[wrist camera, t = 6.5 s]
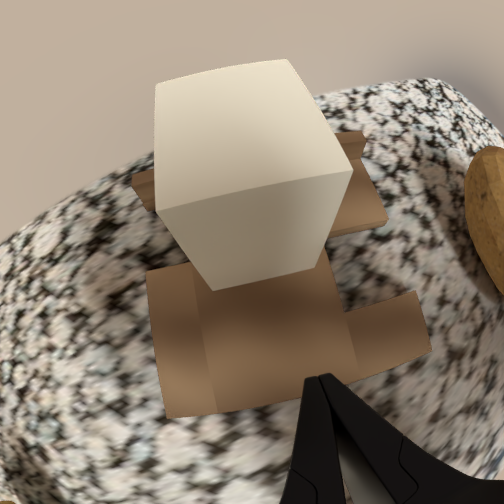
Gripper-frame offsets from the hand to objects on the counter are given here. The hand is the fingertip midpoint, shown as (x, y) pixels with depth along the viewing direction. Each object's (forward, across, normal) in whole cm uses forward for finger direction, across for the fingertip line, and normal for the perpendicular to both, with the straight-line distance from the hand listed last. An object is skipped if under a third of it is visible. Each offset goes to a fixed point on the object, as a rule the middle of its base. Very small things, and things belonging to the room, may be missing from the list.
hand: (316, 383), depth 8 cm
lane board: (+10, 0, +1) cm, 10 cm away
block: (+11, +1, -2) cm, 11 cm away
